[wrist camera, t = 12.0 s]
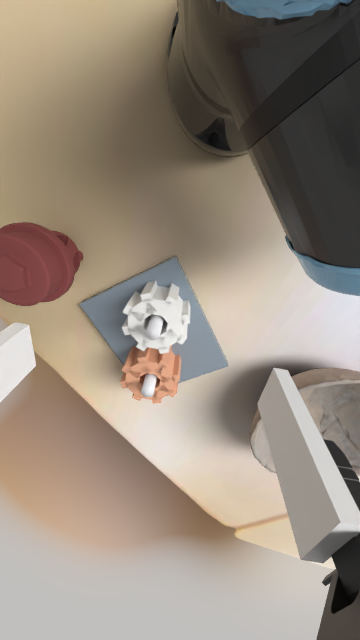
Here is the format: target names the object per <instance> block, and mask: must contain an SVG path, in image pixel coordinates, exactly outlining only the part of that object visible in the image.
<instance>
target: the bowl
mask: <svg viewBox="0 0 360 640" xmlns="http://www.w3.org/2000/svg"><path fill="white" fill-rule="evenodd" d="M291 378H292V380H293V381H294V383H295V385H296V387H297V389H298V391H299V393H300V395H301V397H302V399H303V401H304V403H305V405H306V407H307V409H308V411H309V413H310V415H311V417H312V419H313V421H314V423H315V425H316V427H317V429H318V431H319V433H320V435H321V436H322V438H323V439H325V440H331V441H333V442H334V443H335V444H336V445H337V446H338V447H339V448H340V449H341V450H342V452H343V453H344V454H345V455H346V457H347V459H348V461H349V463H350V464H351V466H352V470H353V471H355V473H356V475H357V476H359V475H360V372H358V371H353V370H348V369H338V368H322V369H313V370H309V371H305V372H302V373H299V374H296V375H294V376H292V377H291ZM250 445H251V449H252V452H253V455H254V457H255V458H256V459H257V460H258V461H259V462H260V464H261V465H262V466H264V467H265V468H266V469H267V470H268V471H270V472H273V473H276V469H275V466H274V462H273V458H272V455H271V451H270V448H269V444H268V440H267V437H266V433H265V430H264V426H263V423H262V419H261V415H260V412H259V408H258V409H257V411H256V414H255V416H254V419H253V422H252V425H251V429H250Z"/></svg>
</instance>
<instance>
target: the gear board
mask: <svg viewBox="0 0 360 640" xmlns="http://www.w3.org/2000/svg"><path fill="white" fill-rule="evenodd" d="M155 280H156V282H157V285H158V286H162V287H168V288H169V287H170V285H171V284H172V283H173V284H174V285H176V286H178V287H179V294H178V295H179V296H180V297H181V299H182V300H183V301H185V300H189V303H190V307H191V310H190V323H189V324H188V330H187V339H186V340H185V342H184V343H183V344H180V343H178V342H176V343H174V344H172V348H171V351H172V352H173V353H174V355H180V357H181V372H180V381H178V383H180V382H183V381H186V380H189V379H192V378H195V377H198V376H201V375H204V374H207V373H210V372H213V371H216V370H219V369H222V368H225V367H227V366H228V363H227V360H226V358H225V356H224V354H223V352H222V349H221V347H220V345H219V343H218V341H217V339H216V337H215V335H214V333H213V331H212V329H211V327H210V325H209V323H208V321H207V319H206V316H205V314H204V312H203V310H202V308H201V306H200V304H199V302H198V300H197V298H196V296H195V294H194V292H193V290H192V288H191V286H190V283H189V281H188V279H187V277H186V275H185V273H184V271H183V269H182V267H181V265H180V263H179V261H178V259H177V257H176V256H174V257H172V258H170V259H168V260H166V261H164V262H162V263H160V264H158V265H156V266H153V267H151V268H149V269H147V270H145V271H143V272H141V273H139V274H137V275H135V276H133V277H131V278H129V279H127V280H125V281H123V282H121V283H119V284H117V285H115V286H113V287H111V288H108V289H106V290H104V291H102V292H100V293H98V294H96V295H94V296H92V297H90V298H88V299H86V300H84V301H82V302H81V303H80V304H79V305H80V306H81V307H82V309H83V310H84V312H85V313H86V314H87V316H88V317H89V318H90V320H91V321H92V323H93V324H94V325H95V327H96V328H97V329H98V331H99V332H100V334H101V335H102V336H103V338H104V339H105V340H106V342H107V343H108V345H109V346H110V347H111V349H112V350H113V351H114V353H115V354H116V356H117V357H118V358H119V360H120V361H121V362H122V364H123V365H124V363H125V361H126V358H127V356H128V354H129V352H130V350H131V348H132V347H133V346H135V347H136V346H137V343H138V342H137V341H136V340H135V338H134V337H133V336H132V335H131V334H130V335H125V334H124V332H123V329H122V326H123V324H124V323H125V321H126V319H127V317H128V315H127V314H125V313H123V310H124V308H125V307H126V305H127V303H128V302H129V300H130V299H131V297H132V296H133V294H134V293H135V291H137V292H138V293H140V294H141V293H142V291H143V289H144V287H145V286H146V284H147V282H151V281H155ZM163 322H164V318H163V317H162V316H160V315H154V314H152V316H151V319H150V321H149V324H148V327H147V329H146V332H145V334H146V337H147V338H148V339H150V340H157V339H158V338H159V337H160V334H161V330H162V326H163ZM136 348H137V347H136ZM156 380H157V376H156V375H155V374H150V373H146V375H145V379H144V383H143V386H142V390H141V394H142V395H143V396H144V397H152V396H153V394H154V390H155V385H156Z"/></svg>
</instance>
